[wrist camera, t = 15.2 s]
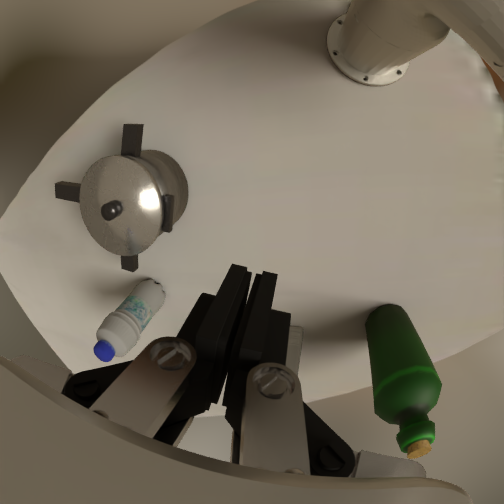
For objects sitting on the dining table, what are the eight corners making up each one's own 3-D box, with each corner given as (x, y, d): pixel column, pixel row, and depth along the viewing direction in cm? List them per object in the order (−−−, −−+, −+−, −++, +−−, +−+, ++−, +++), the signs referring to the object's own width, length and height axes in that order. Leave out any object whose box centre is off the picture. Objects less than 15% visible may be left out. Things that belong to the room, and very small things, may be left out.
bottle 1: (141, 299, 55) (89, 364, 37) (138, 272, 52) (78, 334, 35) (170, 307, 55) (122, 378, 37) (168, 279, 52) (113, 348, 34)
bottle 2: (355, 343, 51) (369, 473, 26) (363, 298, 47) (393, 440, 21) (404, 340, 49) (437, 461, 24) (417, 297, 45) (472, 423, 19)
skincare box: (299, 356, 54) (294, 419, 40) (265, 352, 55) (252, 415, 41) (304, 324, 51) (301, 391, 37) (266, 321, 52) (252, 386, 38)
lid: (83, 152, 34) (70, 155, 31) (167, 160, 33) (156, 163, 30) (86, 241, 40) (74, 249, 38) (162, 263, 39) (152, 273, 36)
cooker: (85, 121, 41) (51, 125, 33) (203, 127, 39) (178, 127, 31) (85, 234, 51) (57, 252, 43) (189, 261, 49) (167, 287, 41)
